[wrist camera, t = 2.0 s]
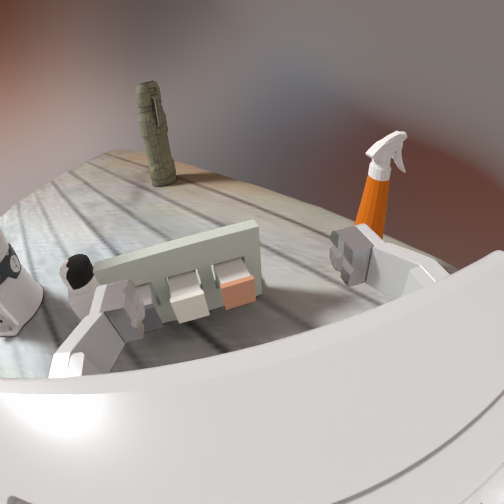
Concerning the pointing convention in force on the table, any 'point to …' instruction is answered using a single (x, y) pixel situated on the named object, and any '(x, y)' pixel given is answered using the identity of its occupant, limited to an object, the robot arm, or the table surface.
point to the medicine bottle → (79, 283)
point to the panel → (187, 263)
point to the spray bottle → (379, 181)
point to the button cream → (187, 297)
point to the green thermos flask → (155, 134)
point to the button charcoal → (150, 307)
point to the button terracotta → (234, 283)
